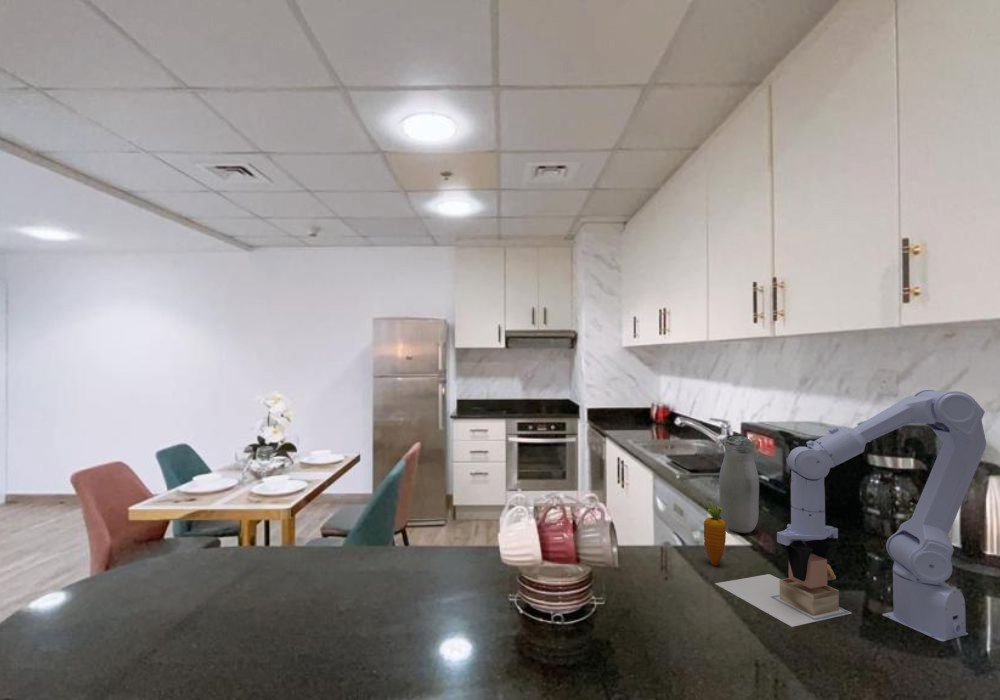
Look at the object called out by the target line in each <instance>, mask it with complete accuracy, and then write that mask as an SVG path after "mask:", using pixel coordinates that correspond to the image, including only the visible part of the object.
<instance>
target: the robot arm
mask: <svg viewBox="0 0 1000 700" xmlns="http://www.w3.org/2000/svg"><path fill="white" fill-rule="evenodd" d="M984 415H985V410H984V409H983V407H981V405H980V404H979V403H978V401H976V399H975V398H974V397H973V396H971V395H970V394H969V393H966V392H964V391H963V392H962V391H958V390H951V391H947V390H946V391H945V390H944V391H943V390H938V391H937V390H934V389H924V390H920V391H917V392H916V393H915V394H913V395H909V396H906V397H904V398H902V399H901V400H899V401H898V402H896V403H894V404H893V405H891V406H890V407H887V408H886V409H884V410H882V411H881V412H878V413H877V414H875V415H874V416H871V417H870V418H868V419H866V420H865V421H862V422H861V423H860V424H858V425H857V426H854V427H853V428H850V427H847V426H841V427H838V428H837V426H836V427H835V426H833V427H831V428H829V429H828V432H829V433H827V434H825V435H822V436H821V437H819V438H817V439H815V440H808V441H806V445H807V446H797V447H794V448H793V449H792V450H790V453H789V454H788V457H786V464H787V466H788V467H789V469H790V470H791V471H790V473H791V474H790V475H791V479H790V480H791V481H790V523H788V524H787V525H786V529H784V530H782V531H777V532H776V542H777V543H779V544H780V546H781V548H782V549H783V551H784V552H785V554H786V556H787V559H788V564H789V563H790V566H791V570H792V573H793V577H794V578H797V579H799V580H801V581H805V579H806V574H807V565H808V560H809V557H810V554H811V553H812V554H814V555H817V556H819V557H822V558H825V559H827V564H829V560H830V558H831V556H832V554H833V553H834V551H836V549H837V547H838V546H837V545H838V544H837V542H835V541H833V540H831V538H832V539H838V538H839V529H838V528H837V527H834V526H832V525H826V491H825V489H826V488H825V478H826V477H827V476H828V474H829V472H830V470H831V468H836V466H839V465H840V464H841V465H842V464H843V463H845V462H846V461H849V460H850V459H853V458H854V457H856V456H858V455H860V454H863V453H864V452H865V448H866V445H867V443H868V442H870V441H873V440H875V439H878V438H880V437H882V436H884V435H886V434H888V433H891V432H893V431H895V430H897V429H901V428H902V427H904V426H906V425H909V424H924V425H926V426H928V427H929V428H930V429H932V430H933V432H934V434H935V435H936V436H937V438H938V439H939V440H940V441H941V443H942V445H941V447H940V450H939V452H938V453H937V457H936V460H935V461H934V464H933V466H932V468H931V471H930V473H929V476H928V478H927V480H926V483H925V485H924V488H923V489H922V492H921V495H920V497H919V499H918V502H917V504H916V506H915V508H914V511H913V514H912V516H911V518H910V519H908V520H906V521H904V522H903V523H901V524H900V526H899V528H898V529H897V531H896V532H895V533H894V534H892V535H890V536H889V538H887V541H886V544H885V547H886V551H887V554H888V555H889V557H890V558H891V559H892V560H893V566H892V596H893V597H892V598H893V599H892V603H893V606H892V607H893V611H890V612H886V613H885V612H884V613H882V614H881V615H882V616H883V617H885V618H888V619H890V620H892V621H894V622H897V623H899V624H902V625H904V626H906V627H907V628H908V627H909V628H910V629H913V630H915V631H917V632H918V633H922V634H924V635H926V636H928V637H931V638H933V639H935V640H937V641H940V642H946V641H947V642H948V641H949V640H954V639H956V638H959V637H963V636H967V635H969V633H968V632H967V628H966V622H967V621H966V600H965V597H964V595H963V593H962V591H960V590H958V589H957V588H954V587H952V586H950V585H949V584H948V583H946V582H945V581H947V580H948V579H949V578H950V577H951V575H952V573H953V564H952V556H953V553H954V551H955V549H954V546H953V544H952V541H951V538H950V534H949V533H950V532H951V529H952V526H953V524H954V523H955V520H956V517H957V515H958V513H959V511H960V508H961V505H962V504H963V501H964V499H965V498H966V497H965V496H967V495H966V494H967V492H968V490H969V487H970V486H971V483H972V480H973V478H974V476H975V474H976V471H977V469H978V466H979V465H980V462H981V460H982V457H983V454H984V452H985V450H986V447H987V439H986V435H985V430H984V425H983V420H982V419H983V417H984ZM803 542H805V543H803ZM805 545H806V546H805Z"/></svg>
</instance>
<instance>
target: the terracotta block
mask: <svg viewBox="0 0 1000 700" xmlns="http://www.w3.org/2000/svg"><path fill="white" fill-rule="evenodd" d="M827 564H828V563H827V559H825V558H822V557H819V556H817V555H814V554H812V553H811V554H810V557H809V560H808V565H807V574H806V579H805V581H801V580H799V579H797V578H794V577H793V573H792V570H791V566H790V563H789V562H788V578H789V579H791V580H793V581H795V582H797V583H800V584H802V585H804V586H806V587H808V588H816V587H821V586H828V580H827Z"/></svg>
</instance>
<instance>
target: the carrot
mask: <svg viewBox="0 0 1000 700" xmlns="http://www.w3.org/2000/svg"><path fill="white" fill-rule="evenodd" d="M708 505H709V506H710V508H708V509H707V512H708V513H709V515H710V516H709V517H707V518H706V519H704V522H703V533H704V534H703V537H704V538H703V539H704V545H705V551H706V555H707V556H708V559H709V561H710V563H711V565H713V566H714V567H715V566H717V567H718V566H719V564H720V562H721V560H722V557H723V555H724V551H725V546H726V538H727V537H726V534H727V527H726V523H725V522H724V521H723V520H722V519H721V518H720V516H721V515H720V513H721V511H722V508H720V505H716V506H714V504H713V502H712V501H709V502H708ZM715 507H716V508H715Z"/></svg>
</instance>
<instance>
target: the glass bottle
mask: <svg viewBox="0 0 1000 700" xmlns="http://www.w3.org/2000/svg"><path fill="white" fill-rule="evenodd" d="M754 449H755V448H754V445H753V442H752V441H751V439H749V438H748V437H745V436H742V435H734V436H730V437H729V438H727V440H726V442H725V446H724V454H723V461H722V464H721V466H720V470H719V475H718V476H719V479H718V483H719V484H718V485H719V486H718V487H719V490H718V491H719V507H720V508H722V511H721V513H720V515H719V516H720V519H721V520H723V521H724V522H725V523H726V529H727V528H728V530H730V531H733V532H735V533H742V534H748V533H751V532H752V531H754V530H755V529H756V527H757V525H758V522H759V516H760V515H759V513H760V511H759V510H760V509H759V507H760V506H759V505H760V504H759V503H760V497H759V496H760V478H759V473H758V470H757V465H756V461H755V454H754V453H755V452H754Z"/></svg>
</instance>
